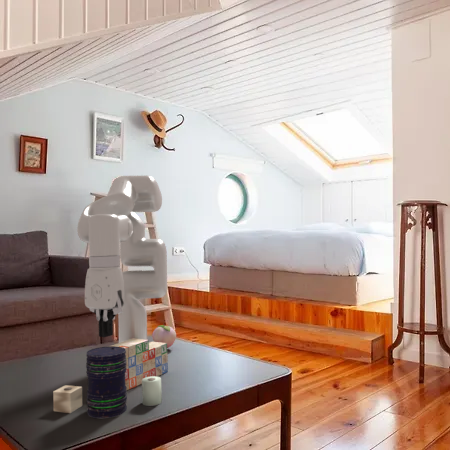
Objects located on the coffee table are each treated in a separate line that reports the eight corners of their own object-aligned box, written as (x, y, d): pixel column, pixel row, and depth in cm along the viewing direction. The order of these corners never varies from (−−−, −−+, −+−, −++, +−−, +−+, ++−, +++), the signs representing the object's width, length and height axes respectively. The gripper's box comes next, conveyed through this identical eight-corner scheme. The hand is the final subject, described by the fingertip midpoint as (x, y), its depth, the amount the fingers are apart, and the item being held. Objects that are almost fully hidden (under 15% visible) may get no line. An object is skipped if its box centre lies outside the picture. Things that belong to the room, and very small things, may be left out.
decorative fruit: (181, 349, 177) (180, 322, 177) (164, 353, 171) (163, 326, 171) (165, 345, 183) (165, 320, 183) (148, 349, 177) (148, 323, 177)
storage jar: (112, 420, 111) (111, 357, 111) (78, 415, 114) (77, 354, 114) (134, 405, 120) (133, 347, 120) (102, 401, 123) (101, 345, 124)
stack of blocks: (152, 369, 152) (152, 331, 152) (168, 372, 149) (167, 333, 149) (105, 389, 133) (104, 346, 133) (121, 393, 130) (121, 348, 130)
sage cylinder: (138, 403, 121) (137, 380, 121) (151, 397, 126) (150, 374, 126) (153, 407, 119) (152, 383, 119) (165, 400, 123) (164, 377, 123)
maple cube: (53, 411, 117) (53, 391, 118) (65, 404, 122) (65, 384, 122) (70, 413, 116) (70, 392, 116) (82, 406, 121) (82, 386, 121)
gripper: (73, 263, 118) (74, 335, 118) (114, 264, 110) (115, 342, 110) (96, 261, 125) (97, 330, 124) (137, 262, 117) (138, 336, 116)
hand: (105, 335), depth 117 cm, fingers closed
